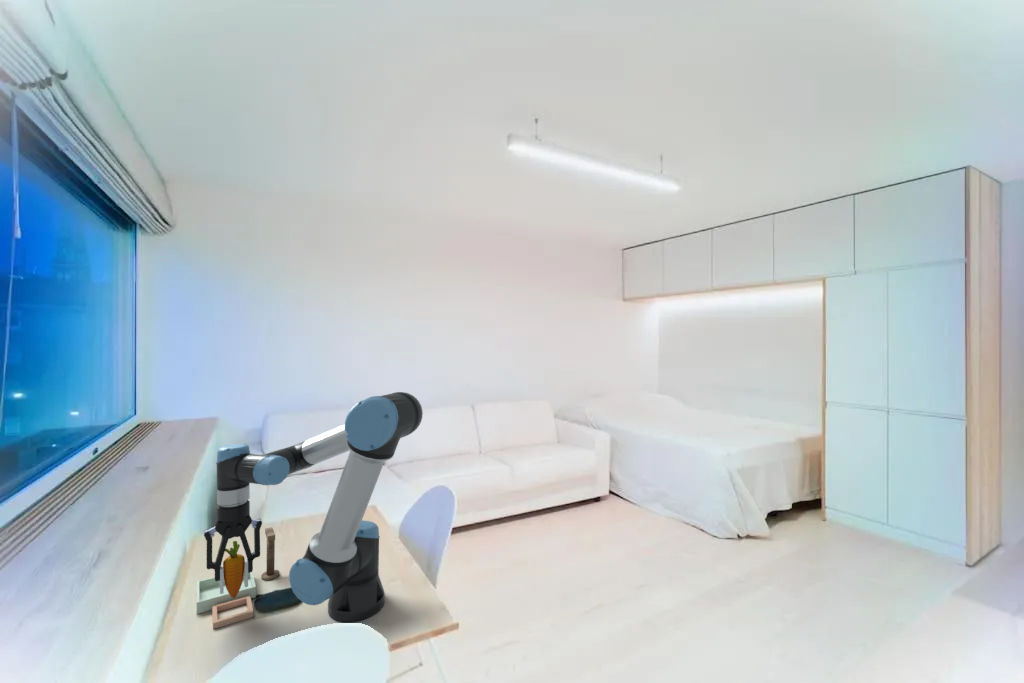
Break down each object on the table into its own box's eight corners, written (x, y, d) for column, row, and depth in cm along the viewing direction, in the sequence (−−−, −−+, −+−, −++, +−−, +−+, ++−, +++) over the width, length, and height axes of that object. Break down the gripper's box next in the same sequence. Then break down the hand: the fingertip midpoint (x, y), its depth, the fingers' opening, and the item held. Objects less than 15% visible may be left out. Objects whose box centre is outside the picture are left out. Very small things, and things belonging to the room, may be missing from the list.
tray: (255, 597, 129) (255, 586, 129) (196, 614, 121) (196, 602, 121) (251, 577, 140) (251, 567, 140) (196, 591, 132) (196, 581, 132)
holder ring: (253, 616, 120) (253, 611, 120) (213, 628, 115) (213, 623, 115) (250, 600, 127) (250, 595, 127) (212, 611, 122) (212, 605, 122)
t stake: (280, 577, 140) (280, 534, 140) (262, 582, 137) (262, 538, 137) (277, 567, 146) (277, 526, 146) (259, 571, 143) (260, 529, 143)
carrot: (234, 604, 118) (234, 547, 118) (218, 602, 119) (218, 546, 119) (249, 593, 123) (248, 539, 123) (233, 592, 124) (233, 538, 124)
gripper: (269, 492, 129) (269, 572, 129) (193, 505, 119) (193, 592, 119) (272, 499, 123) (273, 583, 123) (192, 514, 113) (193, 606, 113)
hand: (234, 587), depth 121 cm, fingers closed on carrot, 5 cm apart
